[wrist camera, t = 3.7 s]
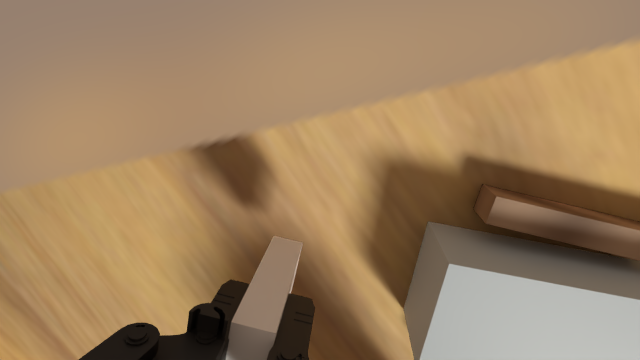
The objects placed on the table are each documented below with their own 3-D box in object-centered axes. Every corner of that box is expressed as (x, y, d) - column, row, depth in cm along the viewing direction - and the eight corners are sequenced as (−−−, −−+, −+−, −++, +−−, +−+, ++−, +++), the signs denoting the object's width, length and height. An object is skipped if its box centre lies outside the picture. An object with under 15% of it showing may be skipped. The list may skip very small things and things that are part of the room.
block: (403, 306, 23) (416, 369, 18) (427, 219, 21) (449, 263, 16) (596, 344, 22) (662, 419, 18) (637, 259, 20) (724, 316, 16)
